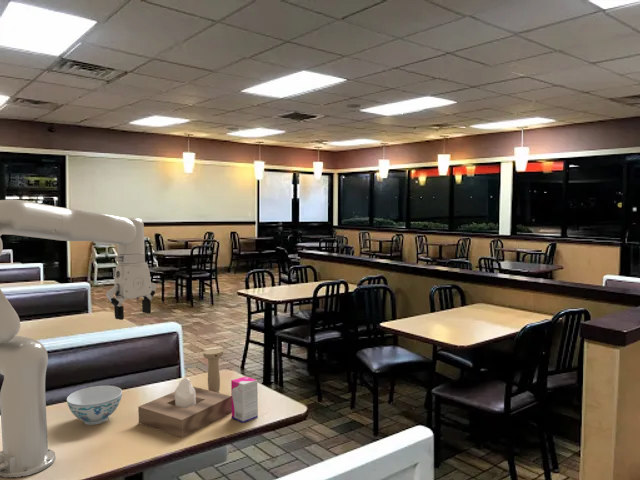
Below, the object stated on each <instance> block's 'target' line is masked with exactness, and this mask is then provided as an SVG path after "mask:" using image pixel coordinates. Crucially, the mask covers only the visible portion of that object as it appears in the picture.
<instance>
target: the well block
mask: <svg viewBox="0 0 640 480" xmlns="http://www.w3.org/2000/svg"><path fill="white" fill-rule="evenodd" d="M192 387H193V388H194V389H195V393H196V404H195V405H192V406H190V407H188V408H186V409H185V408H181V407H178V406H175V391H172V392H171V393H168V394H166V395H164V396H161V397H159V398H156V399H154V400H152V401H148V402H146V403H144V404H142V405H139V406H138V407H137V408H138V411H137V413H138V424H140V425H143V426H147V427H149V428H152V429H155V430H157V431H161V432H164V433H167V434H169V435H173V436H176V437H179V438H182V439H183V438H185V437H187V436H189V435H191V434H192V433H195V432H196V431H199V430H200V429H202V428H204V427H206V426H208V425H209V424H212V423H213V422H216V421H218V420H220V419H222V418H223V417H225V416H227V415H230V414H232V397H231V395H229V394H228V395H227V394H224V393H220V392H219V393H217V392H213V391H209V389H206V388H205V389H204V388H201V387H197V386H193V385H192Z"/></svg>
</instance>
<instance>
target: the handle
mask: <svg viewBox="0 0 640 480" xmlns="http://www.w3.org/2000/svg"><path fill="white" fill-rule="evenodd" d="M223 355H224V350H223V349H220V348H215V349H210V350H209V349H208V350H205V351H203V355H202V356H203V357H204V358H206V359H207V361H208V362H207V363H208V364H207V365H208V368H207V386H208V387H207V390H209V391H213V392H217V393H220V389H221V388H220V387H221V375H220V364H219V363H220V362H219V359H220V358H221V357H222V356H223Z"/></svg>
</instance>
